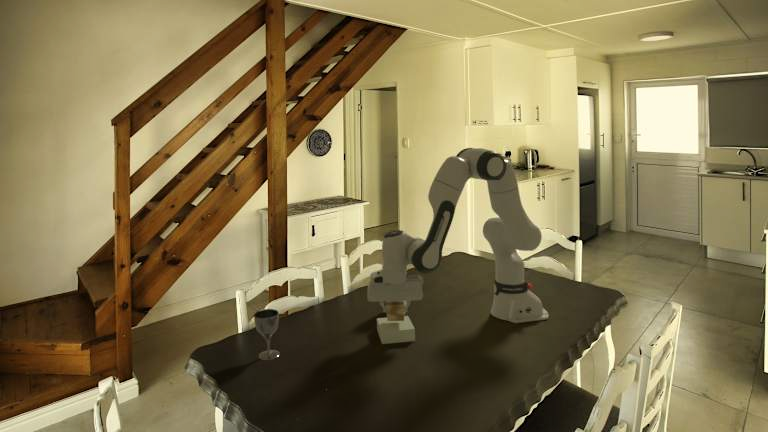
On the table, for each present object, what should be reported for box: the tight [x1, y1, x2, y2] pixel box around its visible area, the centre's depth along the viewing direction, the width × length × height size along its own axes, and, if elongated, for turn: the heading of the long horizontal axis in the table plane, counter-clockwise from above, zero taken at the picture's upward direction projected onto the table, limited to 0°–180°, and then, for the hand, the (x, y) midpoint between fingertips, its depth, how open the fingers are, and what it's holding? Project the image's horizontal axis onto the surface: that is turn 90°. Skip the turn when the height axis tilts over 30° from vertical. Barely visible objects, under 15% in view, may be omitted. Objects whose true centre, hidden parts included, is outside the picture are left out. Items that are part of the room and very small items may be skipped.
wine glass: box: [253, 308, 281, 361], centre depth 158 cm, size 8×8×15 cm
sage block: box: [376, 315, 416, 345], centre depth 172 cm, size 12×12×5 cm
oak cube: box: [386, 301, 405, 321], centre depth 170 cm, size 6×6×6 cm
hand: (395, 311), depth 170 cm, fingers closed on oak cube, 6 cm apart
